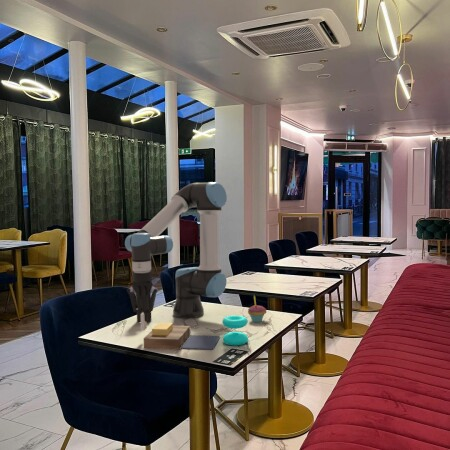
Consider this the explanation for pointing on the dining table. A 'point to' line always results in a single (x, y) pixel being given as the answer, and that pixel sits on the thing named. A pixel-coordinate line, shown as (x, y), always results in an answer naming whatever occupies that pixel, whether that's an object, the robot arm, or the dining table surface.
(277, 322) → the dining table surface
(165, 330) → the yellow flat block
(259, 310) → the cupcake
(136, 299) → the bottle
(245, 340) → the donuts
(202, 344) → the mat
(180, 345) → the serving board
